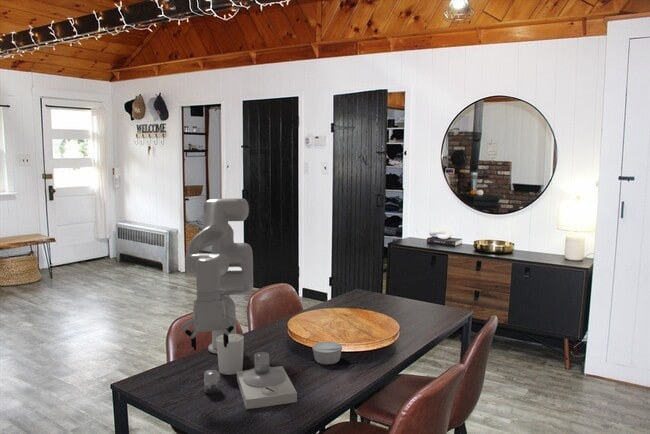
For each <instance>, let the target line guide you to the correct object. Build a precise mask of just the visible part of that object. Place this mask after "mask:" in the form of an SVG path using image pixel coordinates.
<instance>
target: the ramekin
mask: <svg viewBox="0 0 650 434" xmlns="http://www.w3.org/2000/svg"><path fill="white" fill-rule="evenodd" d="M342 350H343V346H342V345H341V344H340V343H339V342H336V341H335V342H334V341H318V342H316V343H315V344H313V346H312V352H313V357H314V360H315V361H316V362H317V363H318V364H321V365H333V364H336V363H338V362H339V361H340V359H341V355H342Z"/></svg>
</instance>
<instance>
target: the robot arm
mask: <svg viewBox="0 0 650 434" xmlns="http://www.w3.org/2000/svg"><path fill="white" fill-rule="evenodd" d="M203 213H204V219H203V228H202V230H201V231H199V232H198V233H197V234H195V236H194V237H193V238H192V239H191V240H190V241H189V243H188V244H187V247H186V253H185V258H184V270H185V273H186V274H187V275H188V276H192V277H195V280H196V282H195V283H196V299H195V300H194V302H193V308H192V309H193V312H192V318H191V319H189V320H187V321H185V322H184V323H181V328H182V329H183V331H184V333H185V334H186V335H187V336H188V337H189V338H190V345H191V346H190V347H191V348H193V351H194V352H195V351H196V350H197V337H196V336H197V335H198V333H204V332H205V333H208V332H211V343H210V344H209V345H208V351H209V352H210V353H212V354H215V355H218V353H217V342H216V338H217V337H218V336H220V335H223V341H224V347H227V344H229V340H228V335H229V334H232V333H233V334H237V322H238V321H237V320H236V317H237V313H236V312H237V311H236V308H237V307H236V304H235V301H234V300H233V298H232V297H231V296H240V295H244V296H245V295H249V294H251V293H252V291H253V289H254V288H253V287H254V256H253V249H252V247H251V245H250V244H248V243H246V242H234V233H235V231H234V229H233V228H232V226H231V224H230V223H229V222H244V221H245V220H247V218H248V216H249V214H250V207H249V203H248V201H247V199H245V198H211V199H207V200H206V201H204V203H203ZM210 246H211V252H206V253H205V252H200V251H202V250H203V249H205V248H208V247H210ZM199 252H200V253H199ZM229 268H241V270H230V269H229ZM191 325H192V326H193V329H192V331H191V330H190V329H189V326H191Z"/></svg>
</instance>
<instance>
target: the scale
mask: <svg viewBox="0 0 650 434" xmlns="http://www.w3.org/2000/svg"><path fill="white" fill-rule="evenodd" d="M236 382H237V384H238V387H239V391H240V394H241V397H242V401H243V404H244V407H245V410H250V409H258V408H265V407H271V406H272V407H273V406H278V405H285V404H287V405H288V404H293V403H297V402H298V392H297V390H296V389H295V386H294V384H293V383H292V380H291V379H290V377H289V376H288V374H287V372H286V370H285V369H284V366H282V365H280V366H269V373H267V374H264V375H259V374H256V373H255V367H253V368H250V369H246V370H242V371H237V374H236Z"/></svg>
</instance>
